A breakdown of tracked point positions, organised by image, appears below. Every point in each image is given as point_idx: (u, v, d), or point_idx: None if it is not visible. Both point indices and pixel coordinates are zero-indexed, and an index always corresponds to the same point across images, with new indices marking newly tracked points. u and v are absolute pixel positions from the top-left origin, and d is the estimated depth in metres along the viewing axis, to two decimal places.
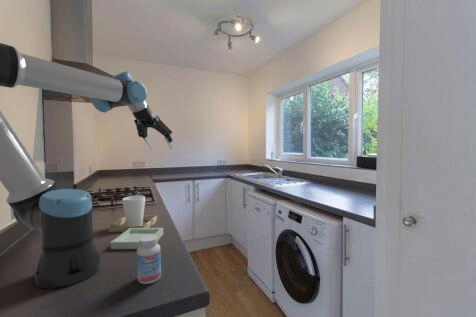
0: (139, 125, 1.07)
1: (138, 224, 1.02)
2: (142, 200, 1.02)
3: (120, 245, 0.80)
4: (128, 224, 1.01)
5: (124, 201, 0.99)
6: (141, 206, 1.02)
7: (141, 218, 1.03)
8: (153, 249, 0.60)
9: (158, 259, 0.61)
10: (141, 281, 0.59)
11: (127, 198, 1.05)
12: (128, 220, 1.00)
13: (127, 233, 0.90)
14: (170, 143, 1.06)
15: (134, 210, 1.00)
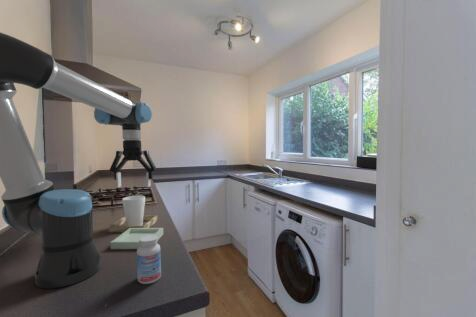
0: (118, 157, 1.02)
1: (138, 224, 1.02)
2: (142, 200, 1.02)
3: (120, 245, 0.80)
4: (128, 224, 1.01)
5: (124, 201, 0.99)
6: (141, 206, 1.02)
7: (141, 218, 1.03)
8: (153, 249, 0.60)
9: (158, 259, 0.61)
10: (141, 281, 0.59)
11: (127, 198, 1.05)
12: (128, 220, 1.00)
13: (127, 233, 0.90)
14: (149, 181, 1.03)
15: (134, 210, 1.00)
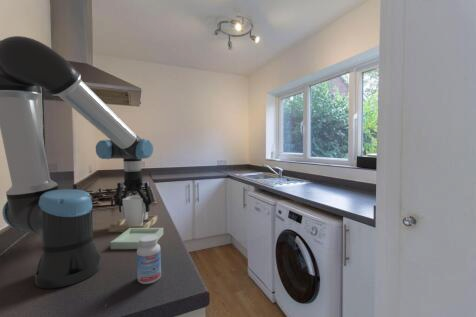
0: (120, 189, 1.03)
1: (138, 224, 1.02)
2: (142, 200, 1.02)
3: (120, 245, 0.80)
4: (128, 224, 1.01)
5: (124, 201, 0.99)
6: (141, 206, 1.02)
7: (141, 218, 1.03)
8: (153, 249, 0.60)
9: (158, 259, 0.61)
10: (141, 281, 0.59)
11: (127, 198, 1.05)
12: (128, 220, 1.00)
13: (127, 233, 0.90)
14: (146, 213, 1.03)
15: (134, 210, 1.00)
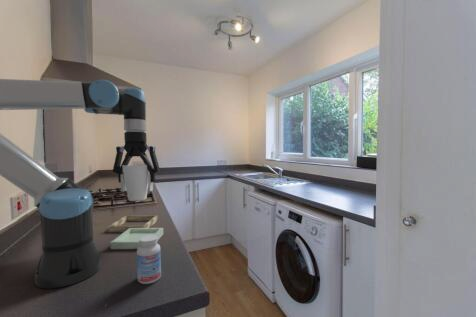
0: (120, 154, 0.85)
1: (141, 196, 0.84)
2: (146, 167, 0.84)
3: (120, 245, 0.80)
4: (129, 196, 0.83)
5: (125, 167, 0.82)
6: (145, 175, 0.84)
7: (145, 189, 0.85)
8: (153, 249, 0.60)
9: (158, 259, 0.61)
10: (141, 281, 0.59)
11: (128, 166, 0.87)
12: (130, 191, 0.83)
13: (127, 233, 0.90)
14: (151, 184, 0.85)
15: (137, 178, 0.82)
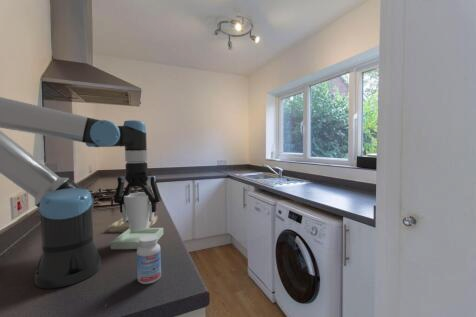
0: (122, 185, 0.85)
1: (143, 226, 0.85)
2: None
3: (120, 245, 0.80)
4: (131, 227, 0.84)
5: (126, 199, 0.82)
6: (146, 205, 0.84)
7: (146, 219, 0.86)
8: (153, 249, 0.60)
9: (158, 259, 0.61)
10: (141, 281, 0.59)
11: (129, 195, 0.88)
12: (131, 222, 0.83)
13: (127, 233, 0.90)
14: (152, 214, 0.86)
15: (138, 210, 0.83)
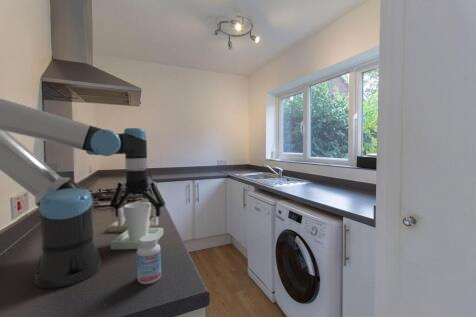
0: (120, 191, 0.86)
1: None
2: (147, 208, 0.85)
3: (120, 245, 0.80)
4: (130, 237, 0.84)
5: (126, 209, 0.82)
6: (146, 215, 0.85)
7: (146, 229, 0.86)
8: (153, 249, 0.60)
9: (158, 259, 0.61)
10: (141, 281, 0.59)
11: (129, 205, 0.88)
12: (131, 232, 0.83)
13: (127, 233, 0.90)
14: (156, 218, 0.86)
15: (138, 220, 0.83)
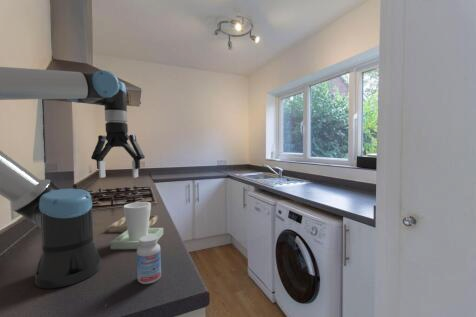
0: (101, 143, 0.88)
1: None
2: (147, 208, 0.85)
3: (120, 245, 0.80)
4: (130, 237, 0.84)
5: (126, 209, 0.82)
6: (146, 215, 0.85)
7: (146, 229, 0.86)
8: (153, 249, 0.60)
9: (158, 259, 0.61)
10: (141, 281, 0.59)
11: (129, 205, 0.88)
12: (131, 232, 0.83)
13: (127, 233, 0.90)
14: (135, 171, 0.87)
15: (138, 220, 0.83)
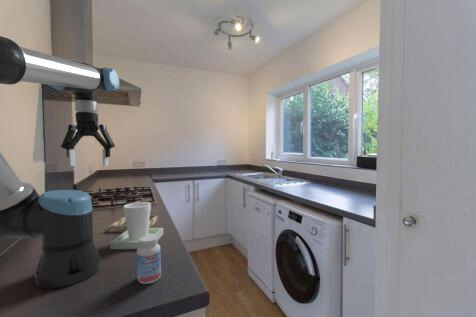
0: (71, 132, 0.91)
1: None
2: (147, 208, 0.85)
3: (120, 245, 0.80)
4: (130, 237, 0.84)
5: (126, 209, 0.82)
6: (146, 215, 0.85)
7: (146, 229, 0.86)
8: (153, 249, 0.60)
9: (158, 259, 0.61)
10: (141, 281, 0.59)
11: (129, 205, 0.88)
12: (131, 232, 0.83)
13: (127, 233, 0.90)
14: (105, 159, 0.91)
15: (138, 220, 0.83)
